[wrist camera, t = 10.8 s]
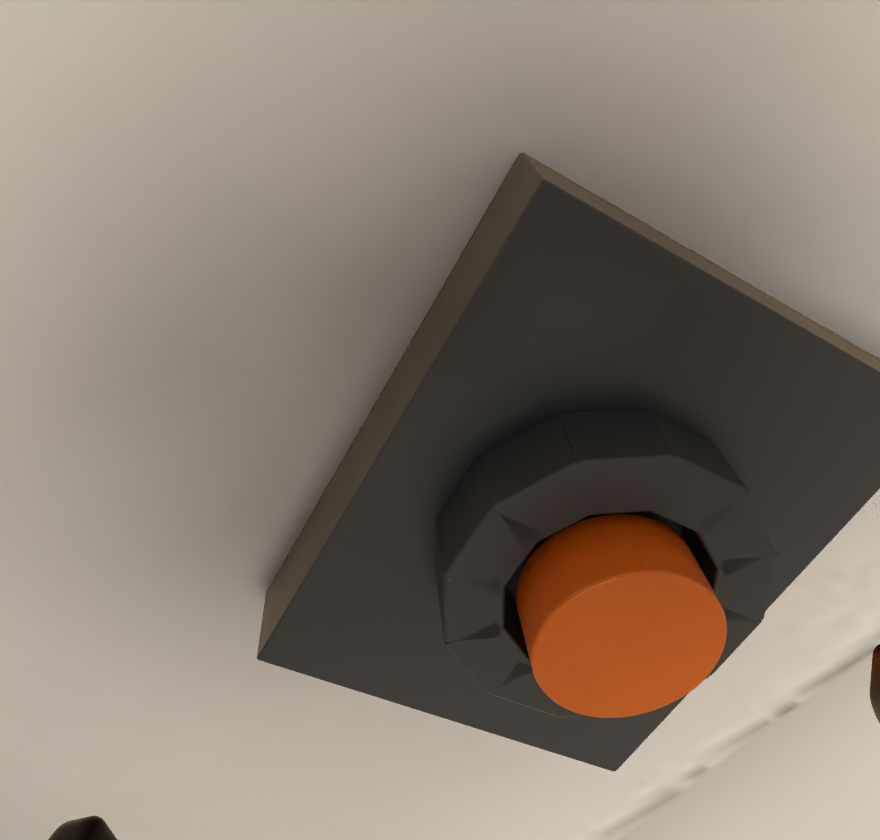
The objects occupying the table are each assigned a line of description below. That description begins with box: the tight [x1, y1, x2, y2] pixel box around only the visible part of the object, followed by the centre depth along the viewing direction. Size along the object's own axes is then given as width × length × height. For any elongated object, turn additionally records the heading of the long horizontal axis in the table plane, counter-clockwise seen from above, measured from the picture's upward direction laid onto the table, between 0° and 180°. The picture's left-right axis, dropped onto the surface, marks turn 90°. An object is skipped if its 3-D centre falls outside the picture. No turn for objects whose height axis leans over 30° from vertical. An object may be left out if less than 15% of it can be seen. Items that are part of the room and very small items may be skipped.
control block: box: [257, 153, 880, 771], centre depth 18 cm, size 12×10×4 cm
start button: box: [516, 513, 727, 718], centre depth 15 cm, size 4×4×2 cm
